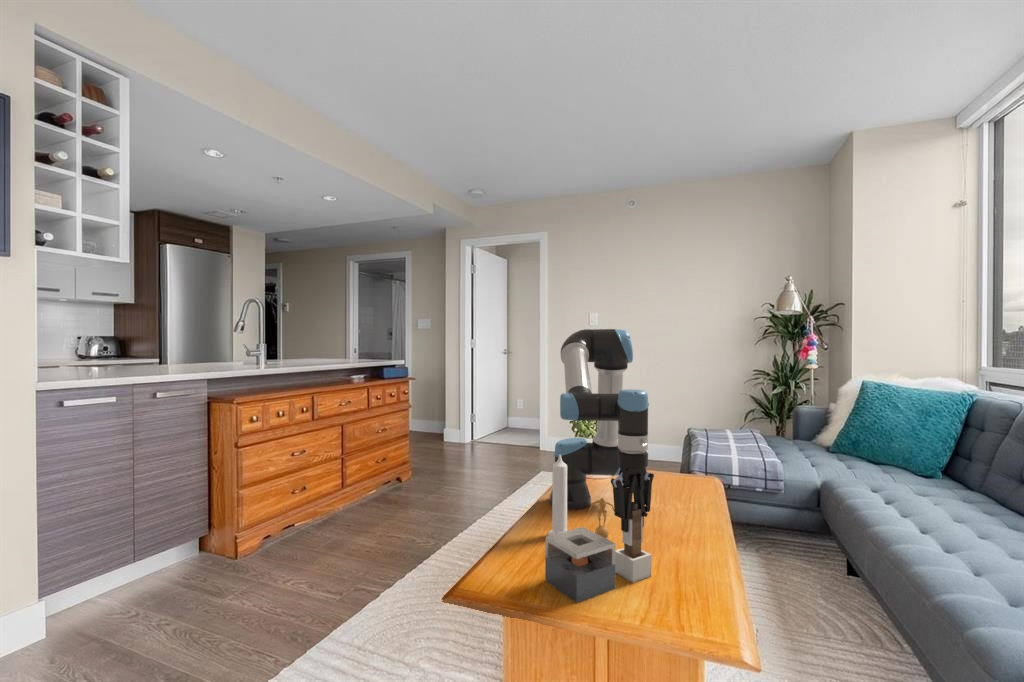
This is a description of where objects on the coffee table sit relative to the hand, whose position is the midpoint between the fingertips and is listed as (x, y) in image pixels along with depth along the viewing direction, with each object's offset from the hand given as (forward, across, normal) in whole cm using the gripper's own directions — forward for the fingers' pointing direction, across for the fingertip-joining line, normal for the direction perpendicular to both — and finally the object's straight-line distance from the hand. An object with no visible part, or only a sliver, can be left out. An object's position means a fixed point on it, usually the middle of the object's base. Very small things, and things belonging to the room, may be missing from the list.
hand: (632, 542), depth 122 cm
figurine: (+8, +9, +21) cm, 24 cm away
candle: (+8, -1, +29) cm, 30 cm away
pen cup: (+8, 0, 0) cm, 8 cm away
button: (+8, -15, +3) cm, 17 cm away
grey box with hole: (+8, -15, +3) cm, 17 cm away
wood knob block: (+6, 0, 0) cm, 6 cm away
